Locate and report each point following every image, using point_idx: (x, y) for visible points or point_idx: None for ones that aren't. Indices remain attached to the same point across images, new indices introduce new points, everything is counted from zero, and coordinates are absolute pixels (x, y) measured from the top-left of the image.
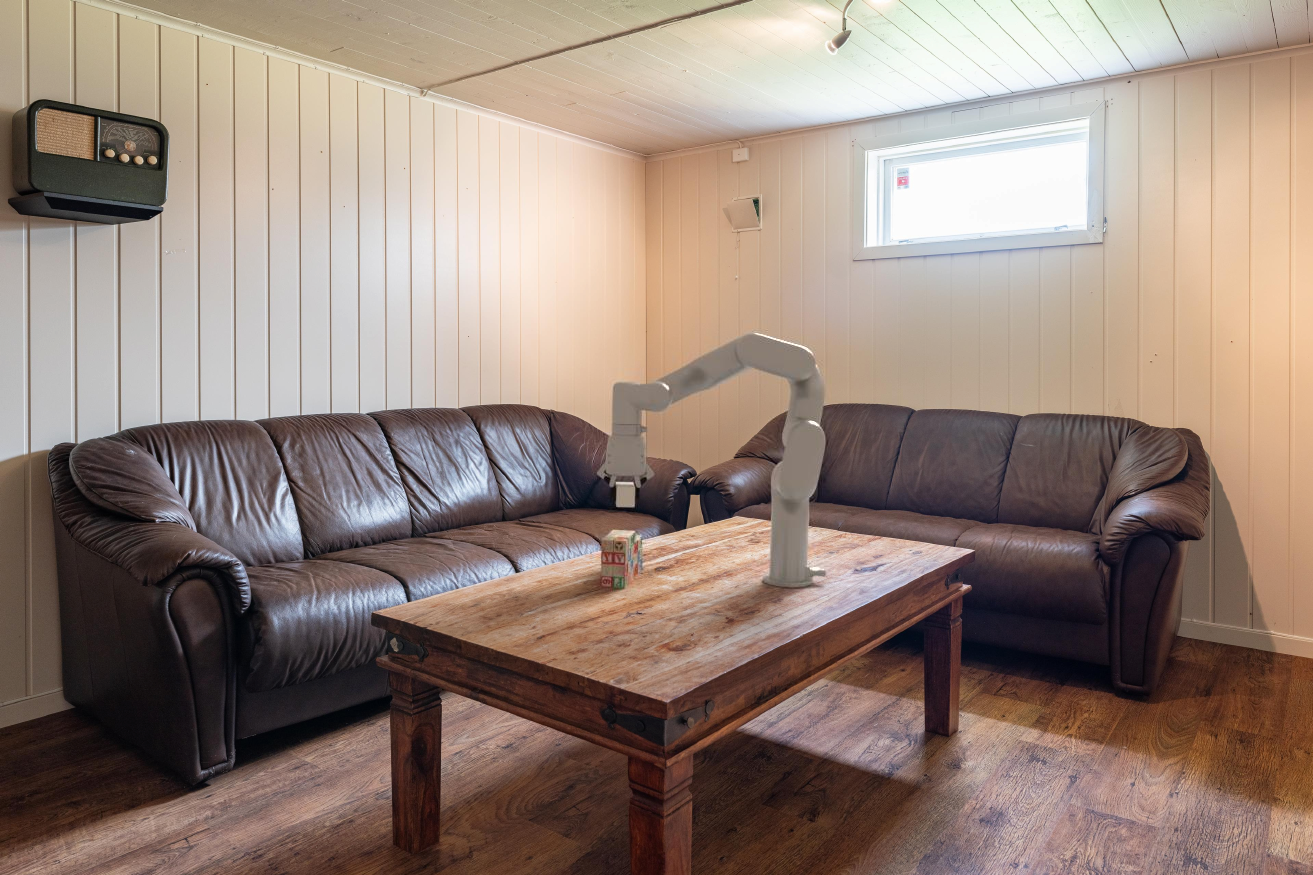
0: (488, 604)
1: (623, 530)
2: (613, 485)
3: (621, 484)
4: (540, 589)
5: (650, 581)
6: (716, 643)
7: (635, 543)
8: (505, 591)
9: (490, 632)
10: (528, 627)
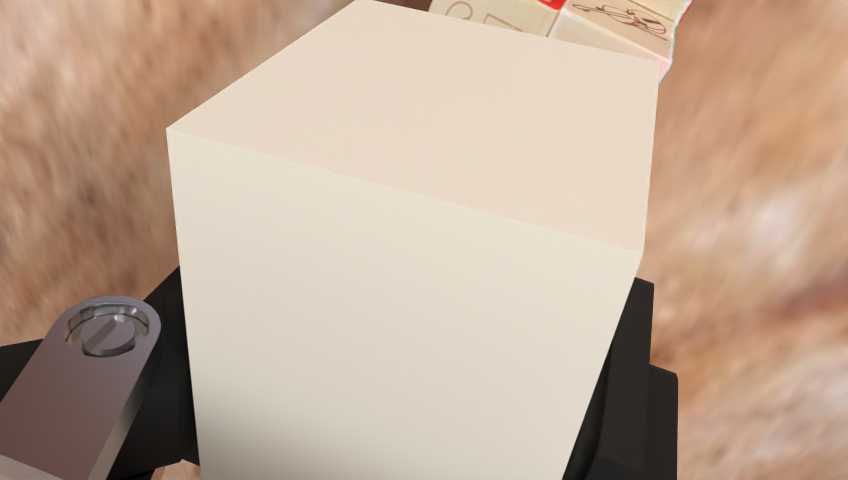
0: (29, 254)
1: (548, 19)
2: (157, 467)
3: (287, 462)
4: (157, 115)
5: (736, 99)
6: None
7: (676, 26)
8: (32, 111)
9: None
10: (184, 467)
